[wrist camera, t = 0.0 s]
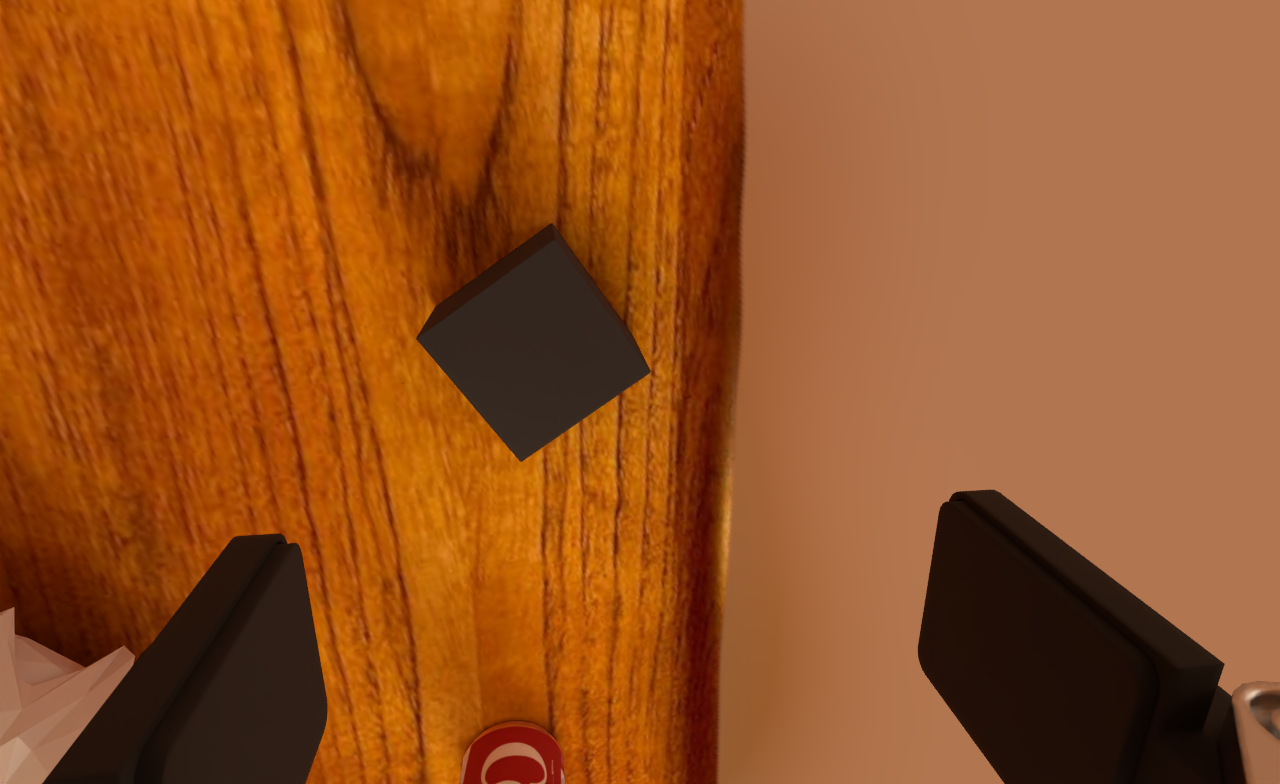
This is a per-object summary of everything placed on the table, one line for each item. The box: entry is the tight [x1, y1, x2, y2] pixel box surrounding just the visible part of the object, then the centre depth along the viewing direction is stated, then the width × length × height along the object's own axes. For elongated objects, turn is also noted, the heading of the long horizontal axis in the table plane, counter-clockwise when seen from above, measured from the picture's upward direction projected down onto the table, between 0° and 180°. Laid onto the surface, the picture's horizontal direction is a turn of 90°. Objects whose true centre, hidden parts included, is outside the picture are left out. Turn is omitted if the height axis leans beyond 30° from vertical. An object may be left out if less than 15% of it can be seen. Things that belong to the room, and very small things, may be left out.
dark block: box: [416, 223, 650, 462], centre depth 28 cm, size 6×6×5 cm
